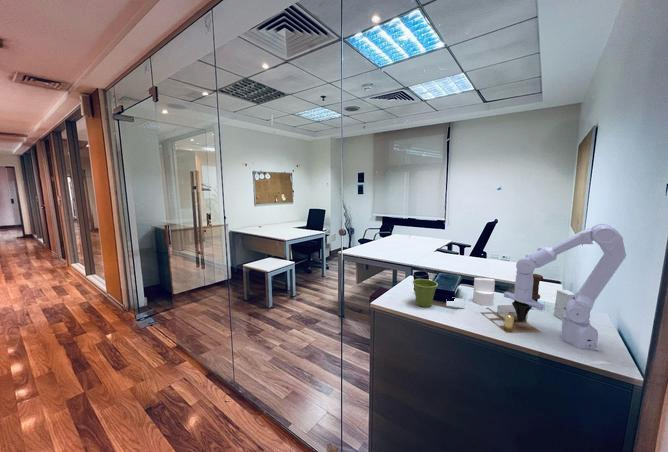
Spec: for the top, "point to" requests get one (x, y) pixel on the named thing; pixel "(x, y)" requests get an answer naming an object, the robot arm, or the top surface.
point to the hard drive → (456, 304)
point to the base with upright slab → (483, 291)
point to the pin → (508, 322)
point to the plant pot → (424, 291)
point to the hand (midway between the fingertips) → (520, 320)
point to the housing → (507, 311)
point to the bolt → (536, 286)
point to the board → (517, 326)
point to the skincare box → (562, 302)
